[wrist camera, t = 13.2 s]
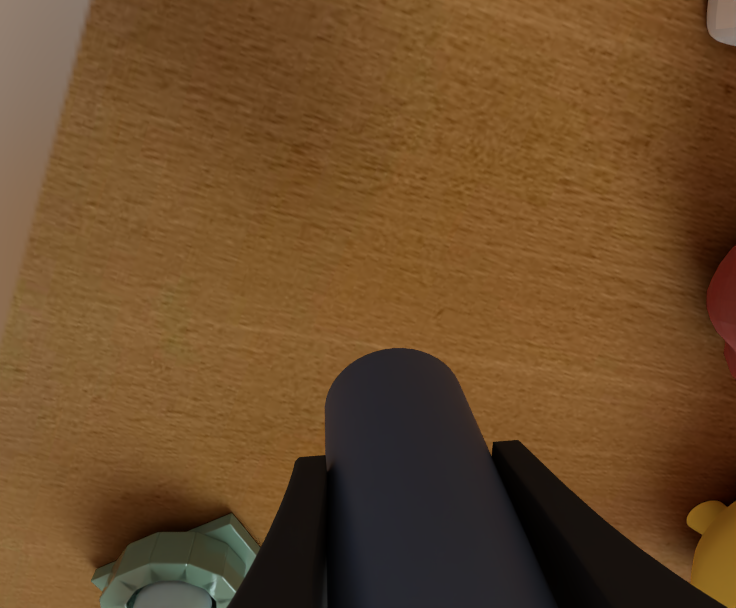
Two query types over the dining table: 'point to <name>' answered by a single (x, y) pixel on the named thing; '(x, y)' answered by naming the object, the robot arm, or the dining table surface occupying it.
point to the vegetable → (725, 306)
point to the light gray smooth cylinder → (172, 596)
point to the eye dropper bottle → (722, 20)
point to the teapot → (715, 551)
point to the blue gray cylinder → (418, 495)
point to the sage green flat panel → (181, 563)
